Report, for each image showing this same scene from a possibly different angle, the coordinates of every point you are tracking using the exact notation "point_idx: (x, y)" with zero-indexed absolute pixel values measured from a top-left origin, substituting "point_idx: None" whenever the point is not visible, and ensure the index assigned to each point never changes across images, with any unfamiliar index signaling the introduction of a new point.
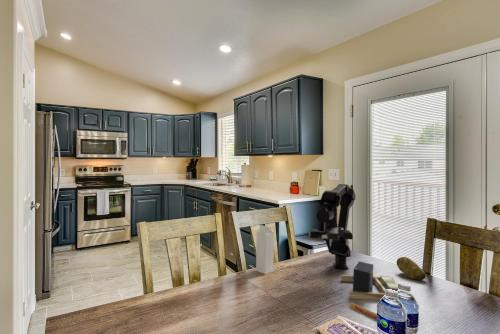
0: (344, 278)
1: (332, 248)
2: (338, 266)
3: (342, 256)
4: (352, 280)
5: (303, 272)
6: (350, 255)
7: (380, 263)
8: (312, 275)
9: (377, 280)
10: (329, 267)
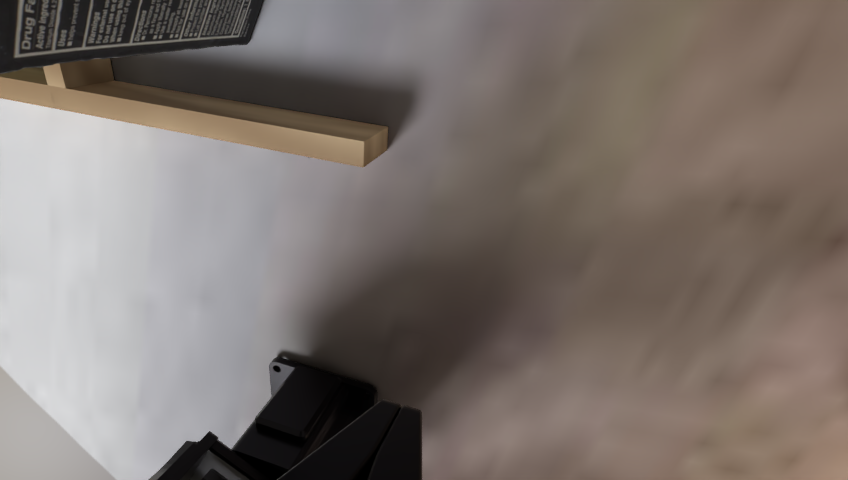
0: (348, 129)
1: (301, 465)
2: (341, 394)
3: (256, 464)
4: (279, 112)
5: (745, 377)
6: (176, 452)
7: (67, 396)
8: (668, 294)
9: None
10: None
